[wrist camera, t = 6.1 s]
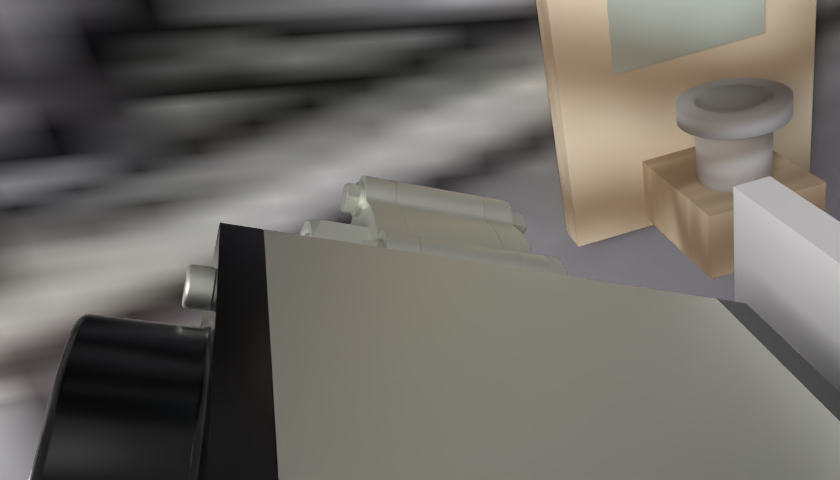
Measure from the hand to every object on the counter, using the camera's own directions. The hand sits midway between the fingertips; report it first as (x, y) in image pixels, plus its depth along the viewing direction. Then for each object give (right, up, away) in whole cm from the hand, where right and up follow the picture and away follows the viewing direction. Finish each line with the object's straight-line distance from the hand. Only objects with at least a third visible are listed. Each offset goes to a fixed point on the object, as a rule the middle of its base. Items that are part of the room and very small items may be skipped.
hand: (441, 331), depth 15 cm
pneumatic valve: (-1, +1, +2) cm, 3 cm away
